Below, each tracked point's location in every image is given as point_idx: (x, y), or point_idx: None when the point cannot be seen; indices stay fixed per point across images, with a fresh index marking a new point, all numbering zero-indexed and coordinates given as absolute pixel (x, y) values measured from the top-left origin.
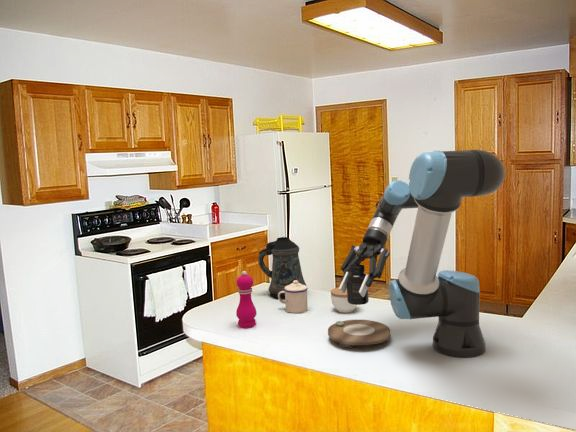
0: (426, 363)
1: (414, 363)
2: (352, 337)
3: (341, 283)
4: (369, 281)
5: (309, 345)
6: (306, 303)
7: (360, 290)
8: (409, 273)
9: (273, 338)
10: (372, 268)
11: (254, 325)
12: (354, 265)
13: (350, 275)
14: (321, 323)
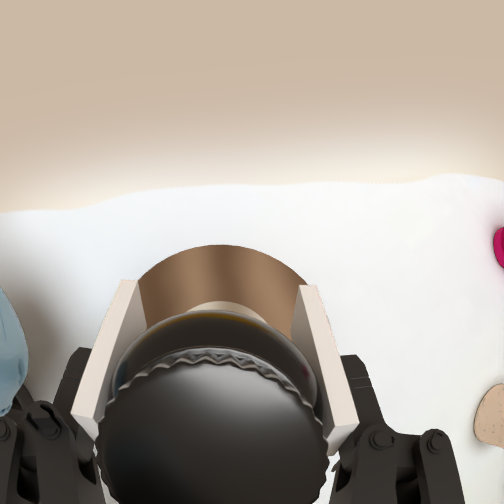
0: (11, 294)
1: (29, 279)
2: (199, 281)
3: (323, 317)
4: (69, 371)
5: (320, 225)
6: (487, 432)
7: (124, 289)
8: None
9: (421, 214)
10: (42, 485)
11: (495, 254)
12: (251, 466)
13: (241, 336)
14: (400, 392)
